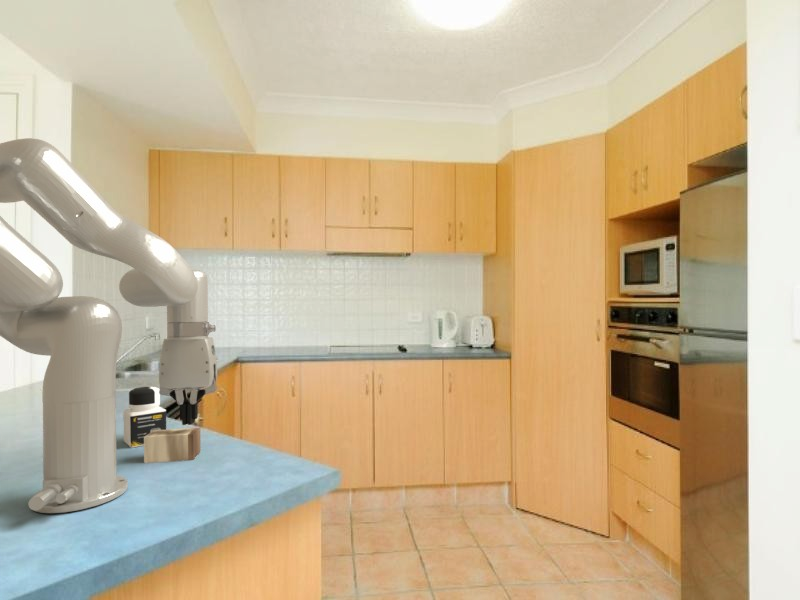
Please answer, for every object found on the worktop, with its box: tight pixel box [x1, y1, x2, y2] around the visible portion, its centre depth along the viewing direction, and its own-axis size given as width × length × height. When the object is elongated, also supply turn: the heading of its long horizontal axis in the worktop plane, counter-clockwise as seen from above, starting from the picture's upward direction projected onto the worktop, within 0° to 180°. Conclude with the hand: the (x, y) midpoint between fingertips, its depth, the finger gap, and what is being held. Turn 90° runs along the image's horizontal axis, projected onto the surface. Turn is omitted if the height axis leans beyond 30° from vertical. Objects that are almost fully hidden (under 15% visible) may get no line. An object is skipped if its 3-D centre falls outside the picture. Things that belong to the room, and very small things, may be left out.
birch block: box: [143, 427, 202, 464], centre depth 92 cm, size 5×5×9 cm
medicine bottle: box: [123, 386, 167, 449], centre depth 104 cm, size 7×7×12 cm
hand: (188, 423), depth 93 cm, fingers closed
